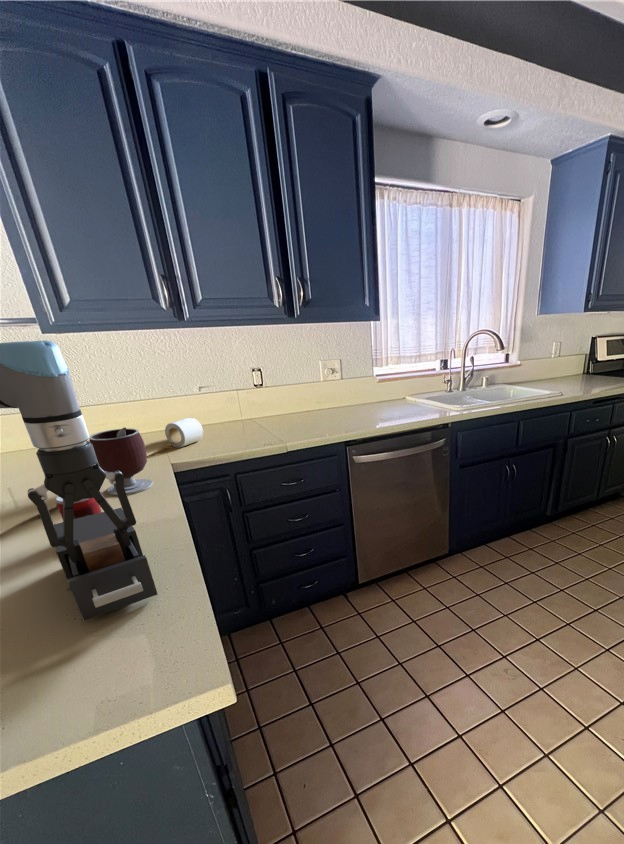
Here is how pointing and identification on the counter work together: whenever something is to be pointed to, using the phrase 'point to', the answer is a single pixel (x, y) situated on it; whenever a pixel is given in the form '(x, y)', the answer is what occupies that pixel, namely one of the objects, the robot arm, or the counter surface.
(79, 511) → the canned food
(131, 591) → the drawer
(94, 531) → the cabinet
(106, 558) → the block
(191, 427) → the toilet paper
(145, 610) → the counter surface
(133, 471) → the mate gourd
